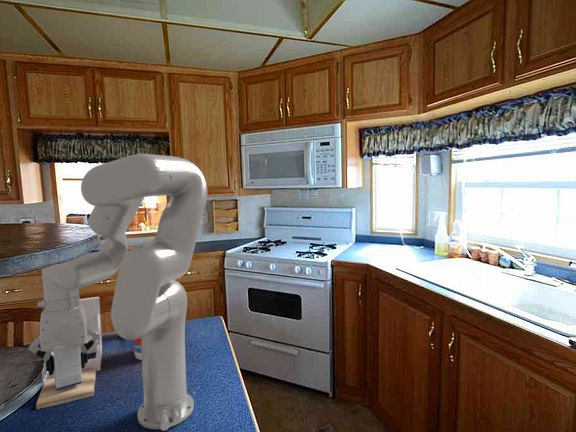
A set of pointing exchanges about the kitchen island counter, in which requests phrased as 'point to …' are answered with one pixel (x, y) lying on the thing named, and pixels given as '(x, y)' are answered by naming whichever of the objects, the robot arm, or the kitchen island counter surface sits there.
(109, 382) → the kitchen island counter surface
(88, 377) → the pine board
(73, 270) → the robot arm
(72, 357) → the supplement box
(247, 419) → the kitchen island counter surface
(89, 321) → the case
